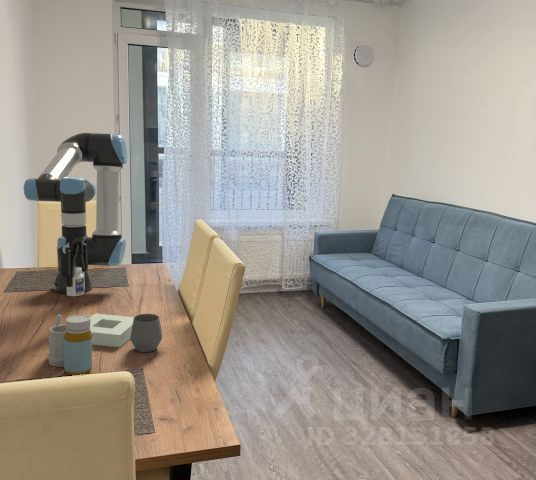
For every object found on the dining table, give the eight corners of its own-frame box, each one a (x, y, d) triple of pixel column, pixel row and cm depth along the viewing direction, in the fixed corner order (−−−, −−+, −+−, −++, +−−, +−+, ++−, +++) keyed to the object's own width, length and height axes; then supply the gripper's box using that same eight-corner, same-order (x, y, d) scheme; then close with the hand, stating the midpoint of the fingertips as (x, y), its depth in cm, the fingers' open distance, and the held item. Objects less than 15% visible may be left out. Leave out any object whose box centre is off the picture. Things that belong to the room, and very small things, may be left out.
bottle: (67, 365, 139) (67, 314, 136) (94, 365, 140) (94, 314, 137) (61, 377, 132) (61, 323, 129) (89, 376, 133) (89, 323, 131)
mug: (49, 369, 136) (48, 327, 134) (44, 353, 146) (43, 314, 144) (79, 364, 140) (78, 324, 138) (72, 349, 150) (71, 310, 148)
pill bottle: (78, 297, 165) (77, 271, 163) (64, 295, 166) (63, 269, 164) (87, 292, 170) (86, 267, 168) (73, 290, 171) (72, 265, 169)
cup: (146, 357, 147) (146, 325, 145) (123, 349, 151) (123, 318, 150) (168, 347, 155) (168, 317, 153) (146, 340, 159) (146, 310, 158)
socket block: (95, 324, 171) (95, 313, 170) (140, 329, 169) (140, 317, 168) (71, 342, 155) (70, 329, 154) (120, 347, 153) (120, 335, 152)
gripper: (77, 219, 172) (79, 283, 177) (47, 229, 155) (50, 300, 160) (98, 221, 172) (99, 285, 176) (69, 230, 154) (72, 302, 159)
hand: (76, 292), depth 168 cm, fingers closed on pill bottle, 5 cm apart
